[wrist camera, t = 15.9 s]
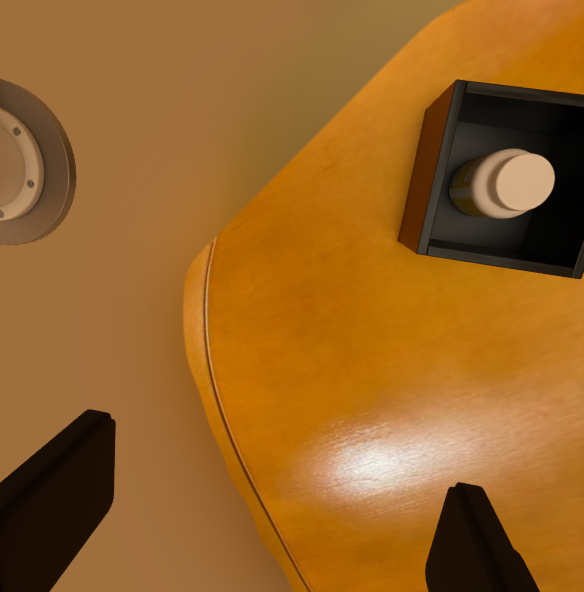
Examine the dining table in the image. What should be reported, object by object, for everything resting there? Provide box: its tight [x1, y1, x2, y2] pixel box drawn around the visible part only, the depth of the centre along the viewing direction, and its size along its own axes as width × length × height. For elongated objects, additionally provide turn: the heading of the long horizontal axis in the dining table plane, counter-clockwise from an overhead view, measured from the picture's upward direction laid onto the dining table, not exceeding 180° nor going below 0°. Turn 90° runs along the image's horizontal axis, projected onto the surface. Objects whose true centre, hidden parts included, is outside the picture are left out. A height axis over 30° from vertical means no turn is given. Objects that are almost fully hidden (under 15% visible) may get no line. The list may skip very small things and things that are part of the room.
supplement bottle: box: [449, 149, 555, 219], centre depth 32 cm, size 5×5×10 cm
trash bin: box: [398, 80, 584, 279], centre depth 33 cm, size 13×13×10 cm
